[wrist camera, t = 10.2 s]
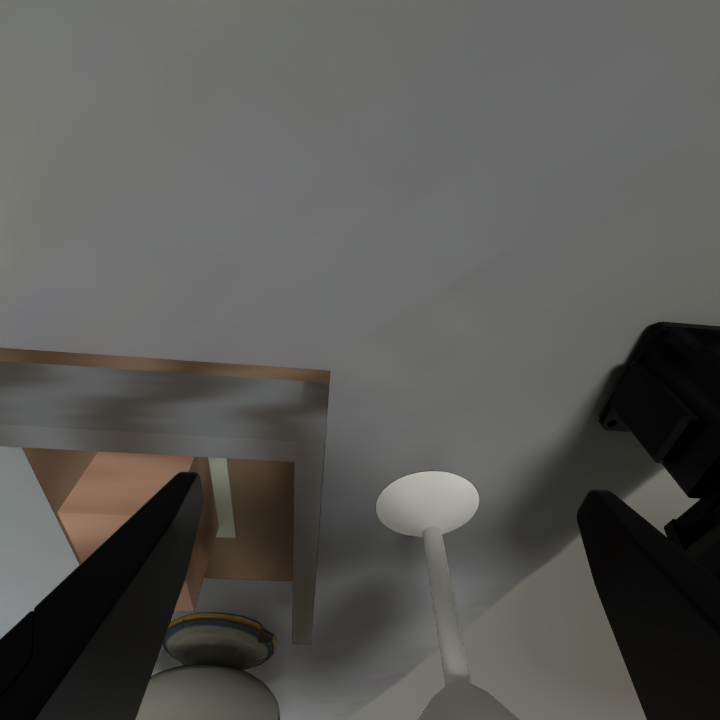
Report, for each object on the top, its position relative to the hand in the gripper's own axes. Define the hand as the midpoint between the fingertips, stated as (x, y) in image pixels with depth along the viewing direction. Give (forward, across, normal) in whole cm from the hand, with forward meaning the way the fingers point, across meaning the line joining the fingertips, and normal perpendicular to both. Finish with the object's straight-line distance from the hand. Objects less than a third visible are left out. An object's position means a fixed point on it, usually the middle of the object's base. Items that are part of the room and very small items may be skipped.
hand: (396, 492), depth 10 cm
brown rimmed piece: (+11, +10, +13) cm, 20 cm away
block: (+10, +10, +12) cm, 19 cm away
